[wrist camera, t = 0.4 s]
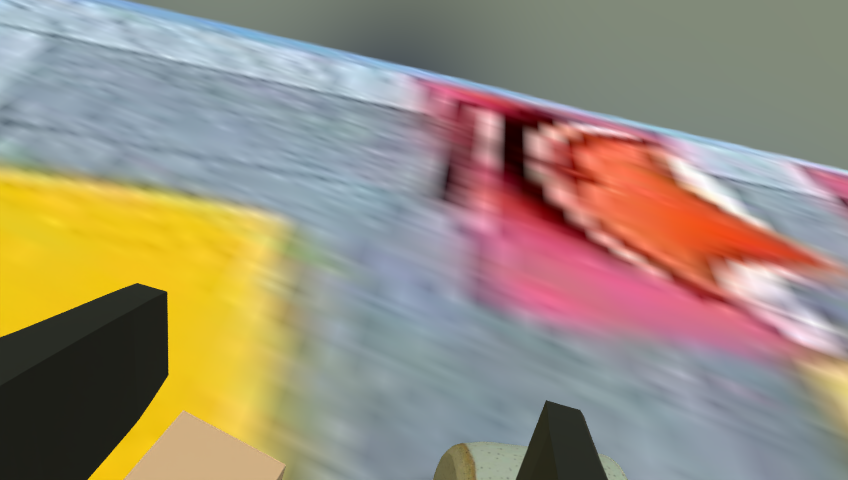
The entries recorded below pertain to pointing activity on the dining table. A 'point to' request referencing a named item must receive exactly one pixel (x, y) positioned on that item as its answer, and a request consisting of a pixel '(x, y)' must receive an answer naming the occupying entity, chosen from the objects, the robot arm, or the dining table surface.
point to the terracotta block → (203, 456)
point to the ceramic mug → (496, 462)
